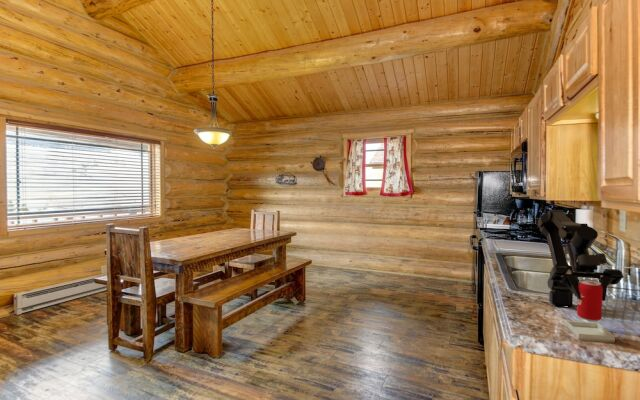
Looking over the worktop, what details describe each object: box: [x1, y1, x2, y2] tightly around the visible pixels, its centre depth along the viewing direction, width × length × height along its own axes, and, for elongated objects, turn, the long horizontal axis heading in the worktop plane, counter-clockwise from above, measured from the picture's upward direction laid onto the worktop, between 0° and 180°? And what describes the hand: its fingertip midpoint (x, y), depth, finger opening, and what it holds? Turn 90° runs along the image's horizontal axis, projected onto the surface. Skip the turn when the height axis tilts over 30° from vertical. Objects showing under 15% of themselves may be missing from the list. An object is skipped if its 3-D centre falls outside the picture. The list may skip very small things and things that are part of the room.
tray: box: [564, 320, 616, 344], centre depth 111 cm, size 10×10×2 cm
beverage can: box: [576, 278, 603, 322], centre depth 110 cm, size 6×6×12 cm
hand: (591, 299), depth 109 cm, fingers closed on beverage can, 6 cm apart
